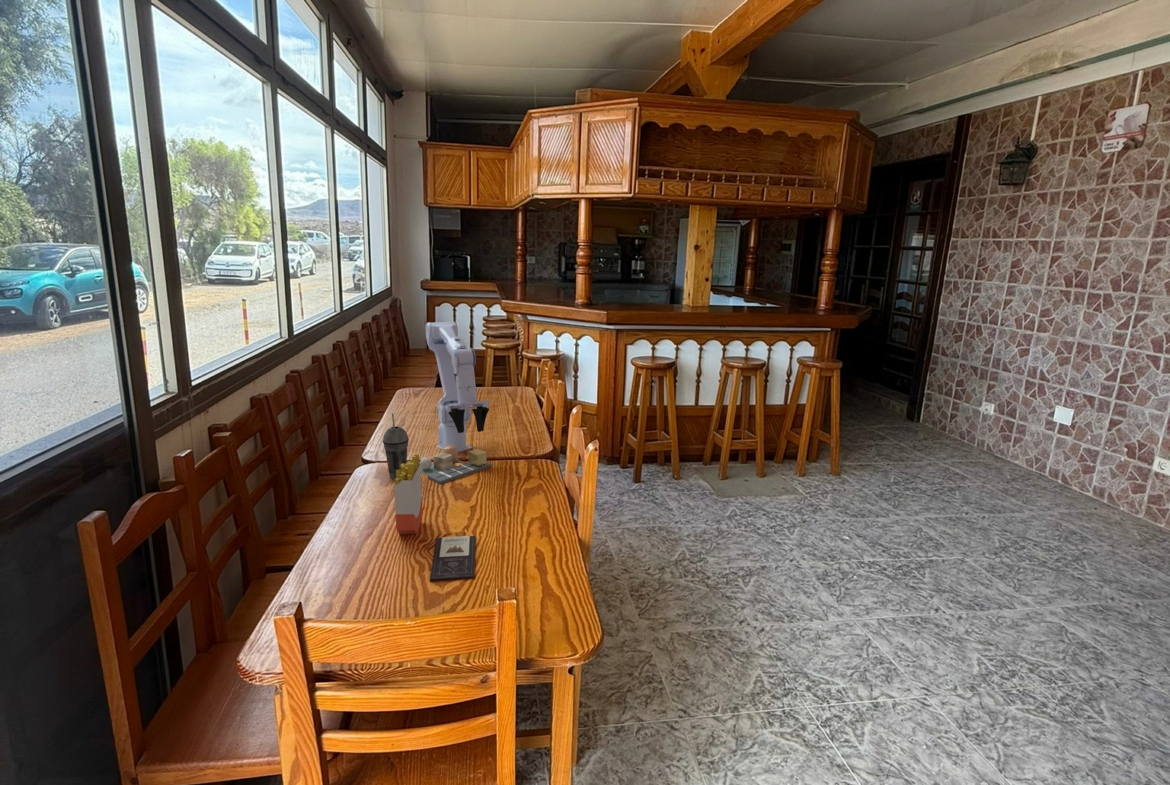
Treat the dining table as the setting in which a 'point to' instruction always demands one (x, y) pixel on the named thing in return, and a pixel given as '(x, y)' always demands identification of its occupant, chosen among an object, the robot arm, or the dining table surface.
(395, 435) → the beverage cup
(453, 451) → the peach domed cylinder
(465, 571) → the chocolate bar
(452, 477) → the board
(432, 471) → the slate mat
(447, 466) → the birch block
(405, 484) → the french fries container
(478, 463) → the tan cardboard cube
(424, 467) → the grey ball
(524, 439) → the dining table surface
